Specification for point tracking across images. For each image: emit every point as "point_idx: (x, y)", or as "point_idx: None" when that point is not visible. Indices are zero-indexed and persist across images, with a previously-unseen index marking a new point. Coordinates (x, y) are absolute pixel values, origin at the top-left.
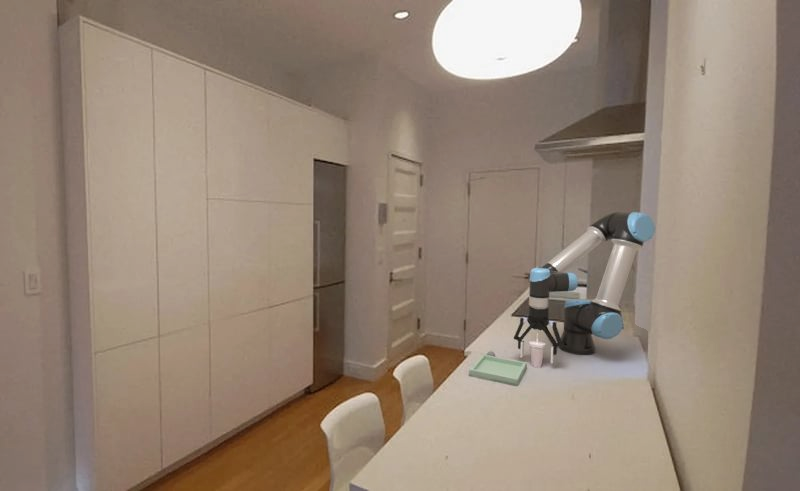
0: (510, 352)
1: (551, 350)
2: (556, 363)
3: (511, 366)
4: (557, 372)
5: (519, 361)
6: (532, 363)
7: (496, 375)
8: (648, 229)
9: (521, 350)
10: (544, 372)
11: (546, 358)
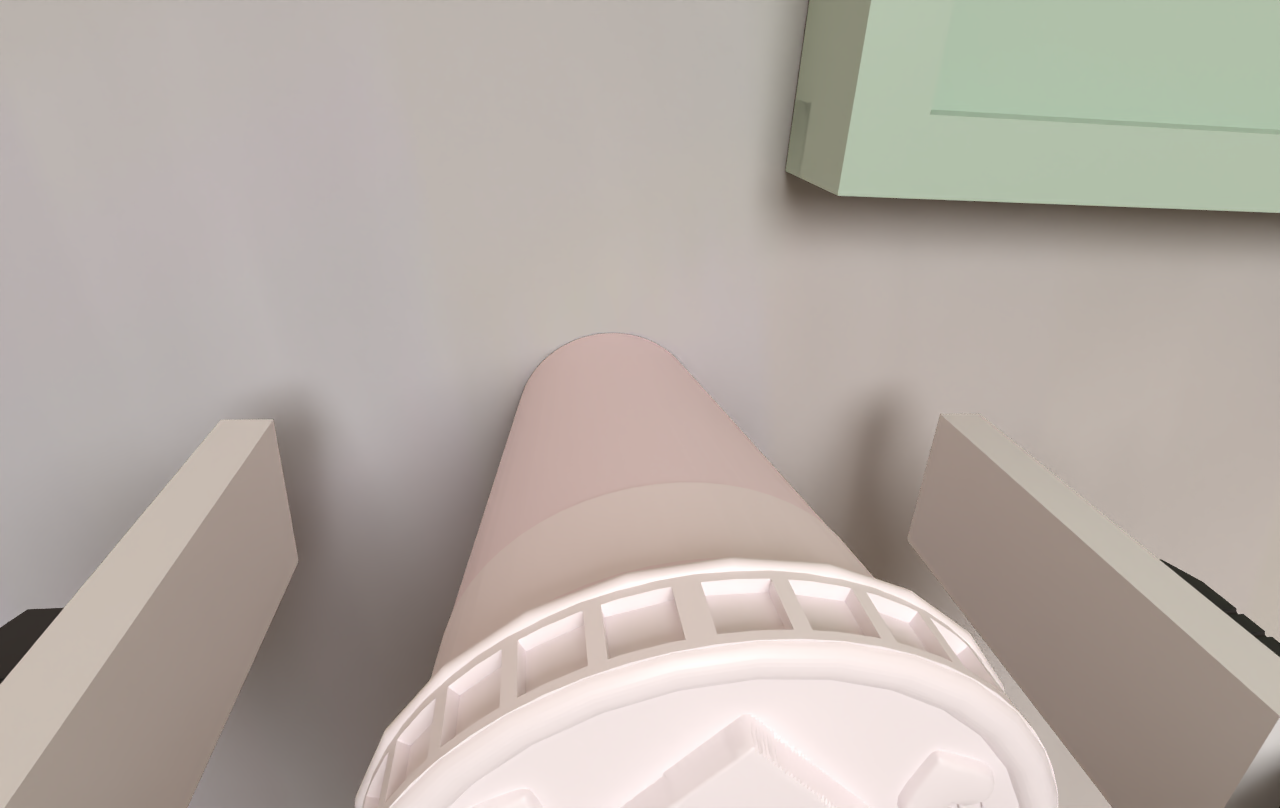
0: (1029, 717)
1: (73, 686)
2: (297, 672)
3: (1136, 9)
4: (130, 267)
5: (1012, 175)
6: (691, 375)
7: None
8: None
9: (1076, 514)
10: (389, 126)
11: None
